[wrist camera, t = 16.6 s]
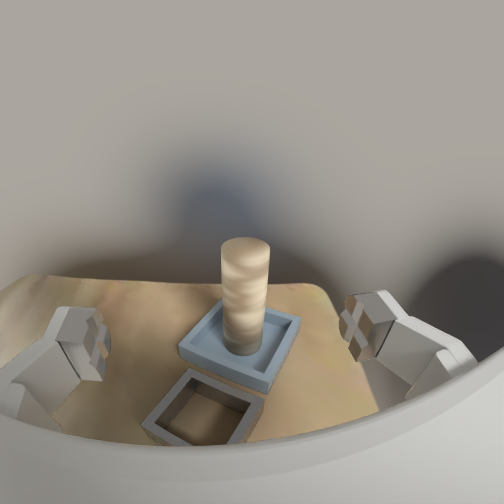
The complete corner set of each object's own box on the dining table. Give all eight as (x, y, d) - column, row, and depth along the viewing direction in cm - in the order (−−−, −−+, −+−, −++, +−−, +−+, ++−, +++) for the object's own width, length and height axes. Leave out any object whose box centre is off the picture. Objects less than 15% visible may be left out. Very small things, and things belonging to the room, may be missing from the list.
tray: (180, 357, 33) (177, 344, 31) (225, 306, 42) (225, 294, 41) (267, 394, 28) (269, 382, 27) (299, 330, 38) (301, 317, 37)
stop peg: (217, 347, 34) (211, 252, 27) (234, 324, 38) (235, 233, 31) (252, 361, 32) (258, 265, 25) (267, 336, 36) (276, 243, 29)
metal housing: (148, 436, 22) (140, 424, 21) (192, 382, 29) (189, 367, 28) (224, 477, 19) (222, 470, 17) (262, 412, 26) (264, 399, 25)
